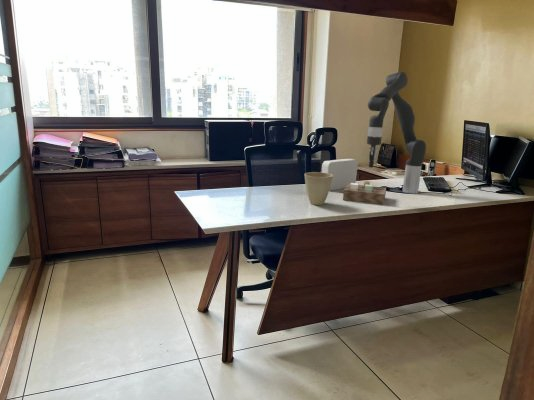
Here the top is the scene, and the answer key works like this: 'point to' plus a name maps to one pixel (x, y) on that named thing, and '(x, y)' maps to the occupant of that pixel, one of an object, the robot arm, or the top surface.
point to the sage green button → (368, 188)
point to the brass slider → (366, 183)
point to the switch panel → (365, 195)
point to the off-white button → (353, 186)
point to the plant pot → (317, 186)
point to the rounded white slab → (341, 172)
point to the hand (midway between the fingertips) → (371, 167)
